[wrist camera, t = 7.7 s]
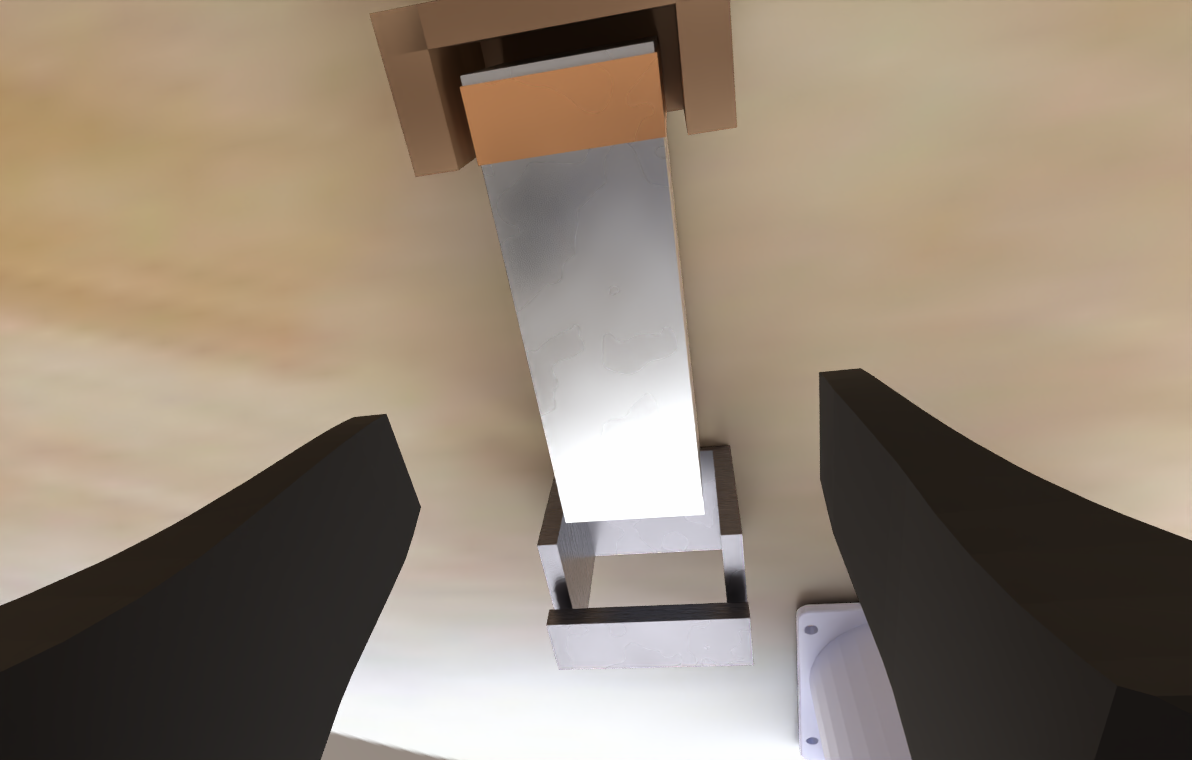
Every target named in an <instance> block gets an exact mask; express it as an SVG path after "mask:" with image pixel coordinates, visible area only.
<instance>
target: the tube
mask: <svg viewBox="0 0 1192 760" xmlns="http://www.w3.org/2000/svg"><path fill="white" fill-rule="evenodd" d="M460 77H461V82H462V86H461V87H460V91H461V95H462V99H463V103H464V107H465V111H466V116H467V120H468V124H469V128H470V132H471V137H472V141H473V145H474V149H475V153H476V158H477V162H478V166H480V165H481V166H482V170H483V175H484V179H485V183H486V187H487V192H488V196H489V200H490V204H491V208H492V213H493V217H494V221H495V225H496V230H497V234H498V238H499V242H500V247H501V251H502V255H503V259H504V263H505V268H506V272H507V276H508V280H509V285H510V289H511V293H512V297H513V301H514V306H515V310H516V314H517V318H518V323H519V327H520V331H521V335H522V339H523V344H524V348H525V352H526V356H527V361H528V365H529V369H530V373H531V378H532V382H533V386H534V390H535V394H536V399H537V403H538V407H539V411H540V416H541V420H542V424H543V428H544V432H545V437H546V441H547V445H548V449H549V454H550V458H551V462H552V466H553V470H554V475H555V479H556V483H557V487H558V492H559V496H560V500H561V504H562V509H563V513H564V517H565V521H566V523H571V522H587V521H604V520H620V519H636V518H653V517H669V516H686V515H702V514H704V502H703V488H702V473H701V459H700V445H699V432H698V423H697V413H696V404H695V394H694V385H693V375H692V366H691V356H690V347H689V337H688V328H687V318H686V309H685V299H684V290H683V280H682V271H681V261H680V252H679V242H678V233H677V223H676V214H675V204H674V195H673V185H672V176H671V166H670V157H669V147H668V138H667V128H666V118H667V110H666V100H665V91H664V81H663V71H662V62H661V52H660V44H658V43H657V35H656V36H651V37H645V38H639V39H634V40H628V41H623V42H617V43H612V44H606V45H601V46H595V47H589V48H584V49H578V50H573V51H567V52H562V53H556V54H550V55H545V56H539V57H534V58H528V59H523V60H517V61H511V62H506V63H501V64H498V65H495V66H491V67H488V68H485V69H481V70H478V71H475V72H471V73H468V74H465V75H461V76H460Z"/></svg>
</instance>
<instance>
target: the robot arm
mask: <svg viewBox="0 0 1192 760" xmlns="http://www.w3.org/2000/svg"><path fill="white" fill-rule="evenodd" d="M819 396H820V480H821V484H822V489H823V493H824V497H825V502H826V506H827V510H828V514H829V518H830V522H831V526H832V530H833V534H834V536H835V539H836V542H837V545H838V547H839V550H840V552H841V555H842V558H843V560H844V563H845V566H846V568H847V571H848V573H849V576H850V579H851V581H852V584H853V586H854V589H855V591H856V594H857V596H858V599H859V602H860V603H836V604H809V605H804V606H802V607H800V608H799V609H798V610H797V612H796V633H797V671H798V708H799V746H800V753H801V756H802V757H803V758H804V759H806V760H1192V540H1189V539H1186V538H1183V537H1181V536H1178V535H1175V534H1173V533H1170V532H1168V531H1165V530H1162V529H1160V528H1157V527H1154V526H1152V525H1149V524H1147V523H1144V522H1141V521H1139V520H1136V519H1133V518H1131V517H1128V516H1126V515H1123V514H1121V513H1118V512H1116V511H1113V510H1111V509H1109V508H1106V507H1104V506H1101V505H1099V504H1097V503H1094V502H1092V501H1090V500H1087V499H1085V498H1083V497H1081V496H1079V495H1077V494H1074V493H1072V492H1070V491H1068V490H1066V489H1064V488H1062V487H1059V486H1057V485H1055V484H1053V483H1051V482H1049V481H1046V480H1044V479H1042V478H1040V477H1038V476H1036V475H1034V474H1032V473H1030V472H1028V471H1026V470H1024V469H1022V468H1020V467H1018V466H1016V465H1014V464H1012V463H1011V462H1009V461H1007V460H1005V459H1003V458H1002V457H1000V456H998V455H996V454H994V453H993V452H991V451H989V450H987V449H985V448H984V447H982V446H980V445H978V444H977V443H975V442H973V441H971V440H970V439H968V438H966V437H965V436H963V435H961V434H960V433H958V432H956V431H955V430H953V429H952V428H950V427H948V426H947V425H945V424H944V423H942V422H940V421H939V420H937V419H936V418H934V417H933V416H931V415H930V414H928V413H927V412H925V411H924V410H922V409H921V408H919V407H918V406H916V405H915V404H913V403H912V402H910V401H909V400H907V399H906V398H904V397H903V396H901V395H900V394H898V393H897V392H895V391H894V390H893V389H891V388H890V387H888V386H887V385H885V384H884V383H882V382H881V381H880V380H878V379H877V378H875V377H874V376H872V375H871V374H869V373H868V372H866V371H864V370H863V369H861V368H859V369H849V370H838V371H828V372H819ZM420 508H421V506H420V503H419V501H418V498H417V495H416V493H415V490H414V487H413V484H412V482H411V479H410V476H409V474H408V471H407V468H406V466H405V463H404V460H403V457H402V455H401V452H400V449H399V447H398V444H397V441H396V438H395V436H394V433H393V430H392V428H391V425H390V422H389V419H388V417H387V414H381V415H371V416H360V417H353V418H351V419H349V420H347V421H345V422H343V423H341V424H339V425H337V426H335V427H333V428H331V429H330V430H328V431H326V432H325V433H323V434H321V435H319V436H318V437H316V438H315V439H313V440H311V441H310V442H308V443H306V444H305V445H303V446H302V447H300V448H298V449H297V450H295V451H294V452H292V453H291V454H289V455H287V456H286V457H284V458H283V459H281V460H279V461H278V462H276V463H275V464H273V465H272V466H270V467H268V468H267V469H265V470H264V471H262V472H261V473H259V474H257V475H256V476H254V477H253V478H251V479H250V480H248V481H246V482H245V483H243V484H241V485H240V486H238V487H236V488H235V489H233V490H231V491H230V492H228V493H226V494H225V495H223V496H221V497H220V498H218V499H216V500H215V501H213V502H211V503H210V504H208V505H206V506H205V507H203V508H201V509H200V510H198V511H196V512H195V513H193V514H191V515H190V516H188V517H186V518H184V519H183V520H181V521H179V522H177V523H175V524H174V525H172V526H170V527H168V528H166V529H164V530H163V531H161V532H159V533H157V534H155V535H153V536H151V537H149V538H148V539H146V540H144V541H142V542H140V543H138V544H136V545H134V546H132V547H130V548H128V549H126V550H124V551H122V552H120V553H118V554H116V555H114V556H112V557H110V558H108V559H106V560H104V561H102V562H100V563H97V564H95V565H93V566H91V567H88V568H86V569H84V570H82V571H79V572H77V573H75V574H73V575H70V576H68V577H66V578H64V579H61V580H59V581H57V582H55V583H52V584H50V585H48V586H46V587H43V588H41V589H39V590H37V591H34V592H32V593H30V594H28V595H25V596H23V597H21V598H18V599H16V600H13V601H11V602H8V603H6V604H3V605H1V606H0V760H321V757H322V754H323V751H324V748H325V745H326V743H327V740H328V737H329V734H330V731H331V728H332V725H333V722H334V720H335V717H336V714H337V711H338V708H339V705H340V702H341V700H342V697H343V695H344V693H345V690H346V688H347V686H348V683H349V681H350V678H351V676H352V674H353V671H354V669H355V667H356V665H357V663H358V661H359V659H360V657H361V654H362V652H363V650H364V648H365V646H366V644H367V642H368V639H369V637H370V635H371V633H372V631H373V629H374V627H375V625H376V622H377V620H378V618H379V616H380V614H381V612H382V610H383V608H384V605H385V603H386V601H387V599H388V597H389V595H390V592H391V590H392V588H393V586H394V584H395V581H396V579H397V577H398V575H399V573H400V570H401V568H402V566H403V564H404V561H405V559H406V556H407V553H408V550H409V547H410V544H411V541H412V537H413V534H414V530H415V527H416V523H417V519H418V516H419V512H420ZM809 625H813V626H809Z"/></svg>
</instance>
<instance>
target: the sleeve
mask: <svg viewBox="0 0 1192 760" xmlns="http://www.w3.org/2000/svg"><path fill="white" fill-rule="evenodd" d="M700 459H701V473H702V488H703V502H704V514H702V515H686V516H669V517H653V518H636V519H620V520H604V521H587V522H571V523H566V521H565V517H564V513H563V509H562V504H561V500H560V496H559V492H558V487H557V483H556V479H555V476H554V480H553V484H552V488H551V492H550V496H549V500H548V504H547V508H546V512H545V516H544V520H543V524H542V528H541V532H540V536H539V540H538V544H537V547H538V551H539V555H540V558H541V562H542V566H543V570H544V573H545V577H546V581H547V584H548V588H549V592H550V596H551V599H552V603H553V607H554V610H549V615H548V620H547V625H546V626H547V629H548V633H549V636H550V640H551V644H552V647H553V651H554V654H555V658H556V661H557V665H558V668H559V670H565V669H607V668H649V667H691V666H734V665H754V664H753V650H752V636H751V623H750V613H749V606H748V602H747V590H746V577H745V563H744V550H743V537H742V528H741V521H740V514H739V507H738V500H737V493H736V486H735V478H734V471H733V464H732V457H731V450H730V446H717V447H704V448H700ZM721 549H722V556H723V566H724V576H725V587H726V597H727V603H708V604H682V605H657V606H631V607H605V608H588V604H589V597H590V589H591V582H592V575H593V568H594V560H595V556H606V555H625V554H644V553H664V552H683V551H702V550H721Z"/></svg>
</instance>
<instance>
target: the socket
mask: <svg viewBox="0 0 1192 760" xmlns="http://www.w3.org/2000/svg"><path fill="white" fill-rule="evenodd" d="M370 18H371V21H372V25H373V28H374V32H375V35H376V39H377V42H378V46H379V49H380V53H381V56H382V60H383V63H384V67H385V71H386V74H387V78H388V81H389V85H390V88H391V92H392V95H393V99H394V102H395V106H396V109H397V113H398V116H399V120H400V123H401V127H402V130H403V134H404V137H405V141H406V144H407V148H408V151H409V155H410V158H411V162H412V165H413V169H414V172H415V176H416V177H418V176H424V175H431V174H437V173H444V172H450V171H457V170H460V169H461V168H462V167H464V166H465V165H466V164H468V163H469V162H470V161H472V160H473V159H474V158H476V153H475V149H474V145H473V141H472V137H471V132H470V128H469V124H468V120H467V116H466V111H465V107H464V103H463V99H462V95H461V91H460V87H461V86H462V82H461V77H460V76H461V75H465V74H468V73H471V72H475V71H478V70H481V69H485V68H488V67H491V66H495V65H498V64H501V63H506V62H511V61H517V60H523V59H528V58H534V57H539V56H545V55H550V54H556V53H562V52H567V51H573V50H578V49H584V48H589V47H595V46H601V45H606V44H612V43H617V42H623V41H628V40H634V39H639V38H645V37H651V36H656V35H657V43H658V44H660V52H661V62H662V71H663V81H664V91H665V100H666V110H667V112H670V111H676V110H682V109H684V113H685V120H686V126H687V133H688V135H691V134H697V133H704V132H710V131H717V130H723V129H730V128H736V127H737V119H736V102H735V84H734V67H733V50H732V32H731V15H730V0H436V1H431V2H426V3H421V4H416V5H411V6H406V7H401V8H396V9H391V10H386V11H381V12H376V13H371V14H370Z"/></svg>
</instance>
